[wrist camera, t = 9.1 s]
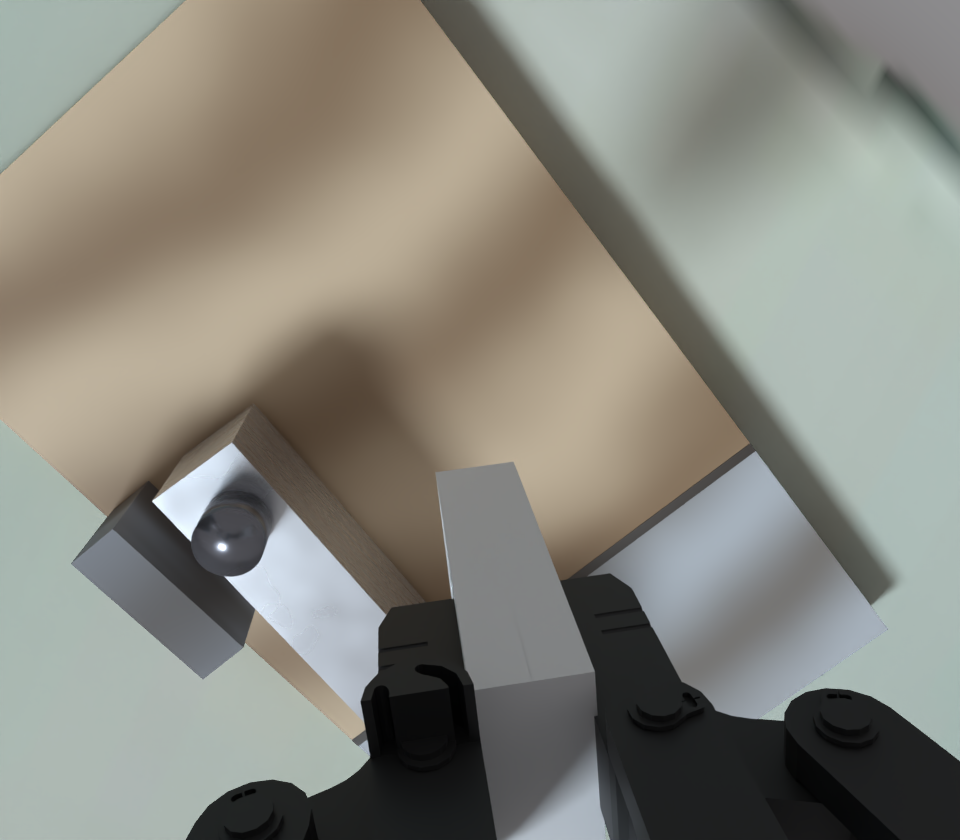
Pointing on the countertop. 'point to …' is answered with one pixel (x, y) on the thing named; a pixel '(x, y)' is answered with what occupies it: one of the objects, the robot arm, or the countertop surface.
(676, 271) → the countertop surface
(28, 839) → the countertop surface
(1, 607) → the countertop surface
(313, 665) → the swing bar
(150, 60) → the door board
